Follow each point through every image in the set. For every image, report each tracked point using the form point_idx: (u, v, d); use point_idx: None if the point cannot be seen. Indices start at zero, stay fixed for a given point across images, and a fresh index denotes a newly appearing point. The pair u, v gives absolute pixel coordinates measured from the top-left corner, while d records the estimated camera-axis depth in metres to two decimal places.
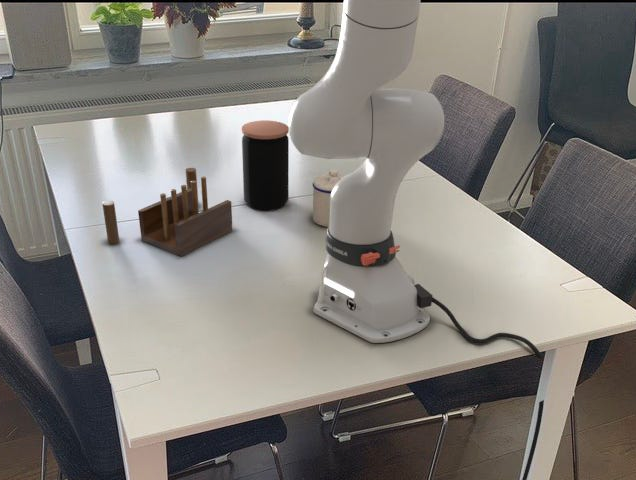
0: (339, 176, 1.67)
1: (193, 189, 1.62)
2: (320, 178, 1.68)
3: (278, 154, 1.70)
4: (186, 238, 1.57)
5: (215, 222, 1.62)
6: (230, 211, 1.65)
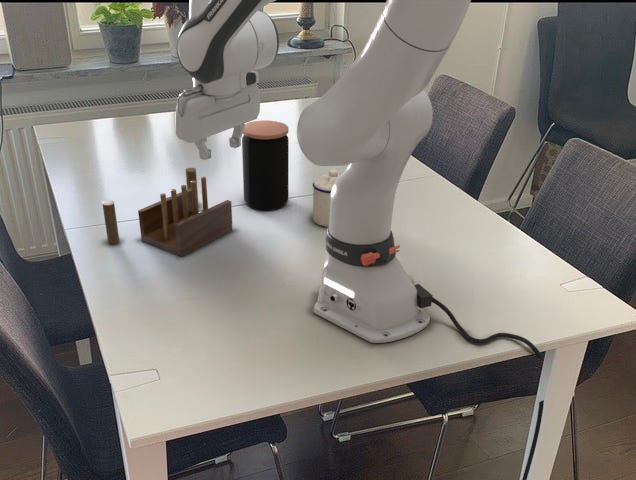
0: (339, 176, 1.67)
1: (193, 189, 1.62)
2: (320, 178, 1.68)
3: (278, 154, 1.70)
4: (186, 238, 1.57)
5: (215, 222, 1.62)
6: (230, 211, 1.65)
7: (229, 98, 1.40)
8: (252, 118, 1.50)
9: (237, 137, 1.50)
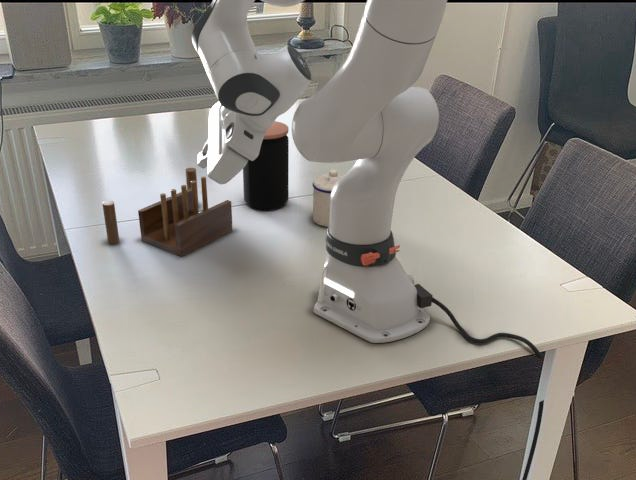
0: (339, 176, 1.67)
1: (193, 189, 1.62)
2: (320, 178, 1.68)
3: (278, 154, 1.70)
4: (186, 238, 1.57)
5: (215, 222, 1.62)
6: (230, 211, 1.65)
7: (222, 118, 1.43)
8: (208, 168, 1.42)
9: None
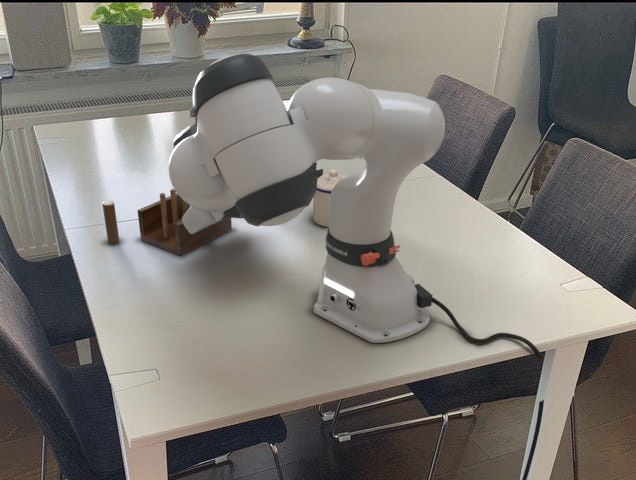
0: (339, 176, 1.67)
1: None
2: (320, 178, 1.68)
3: None
4: (186, 237, 1.57)
5: None
6: None
7: None
8: None
9: None
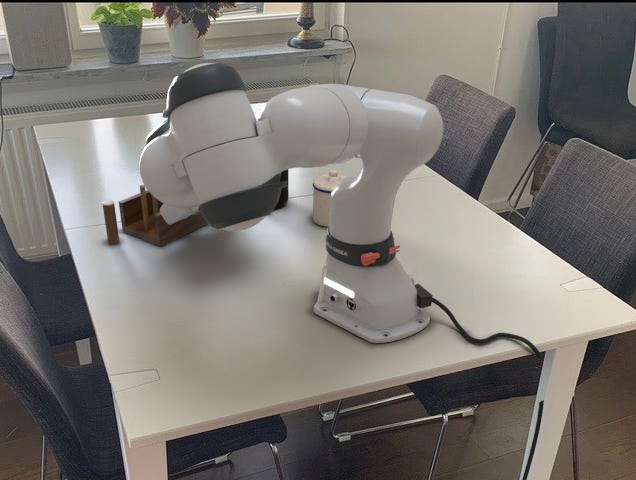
0: (339, 176, 1.67)
1: None
2: (320, 178, 1.68)
3: None
4: (165, 229, 1.60)
5: None
6: None
7: None
8: None
9: None
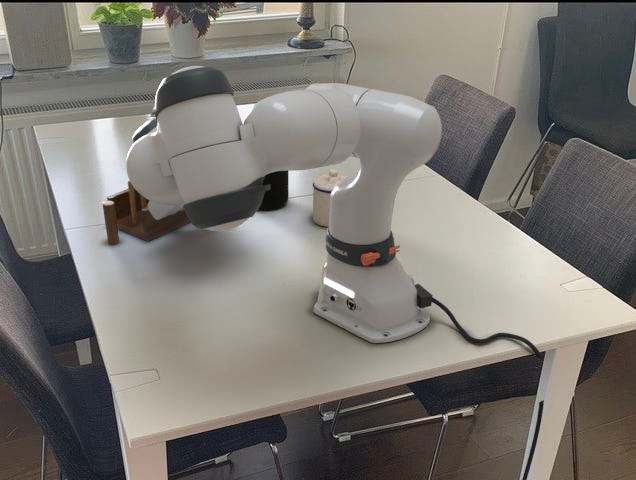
0: (339, 176, 1.67)
1: None
2: (320, 178, 1.68)
3: None
4: (153, 223, 1.62)
5: None
6: None
7: None
8: None
9: None
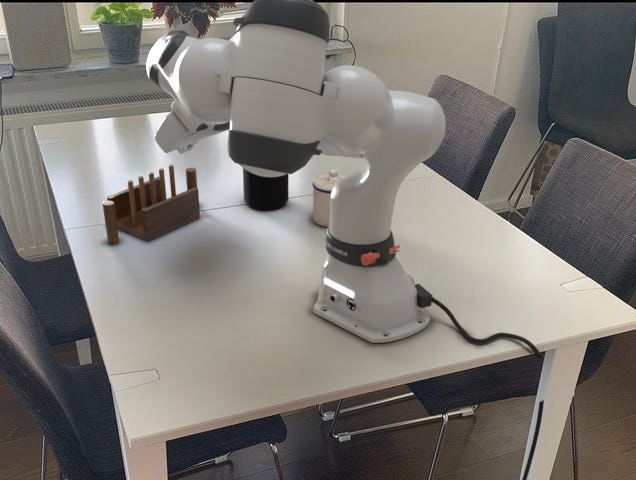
0: (339, 176, 1.67)
1: (161, 176, 1.67)
2: (320, 178, 1.68)
3: None
4: (153, 223, 1.62)
5: (182, 209, 1.68)
6: (197, 198, 1.71)
7: None
8: None
9: None
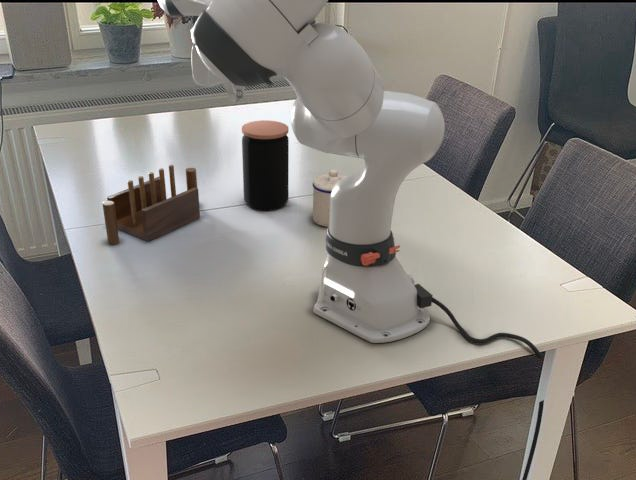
0: (339, 176, 1.67)
1: (161, 176, 1.67)
2: (320, 178, 1.68)
3: (278, 154, 1.70)
4: (153, 223, 1.62)
5: (182, 209, 1.68)
6: (197, 198, 1.71)
7: None
8: None
9: None
